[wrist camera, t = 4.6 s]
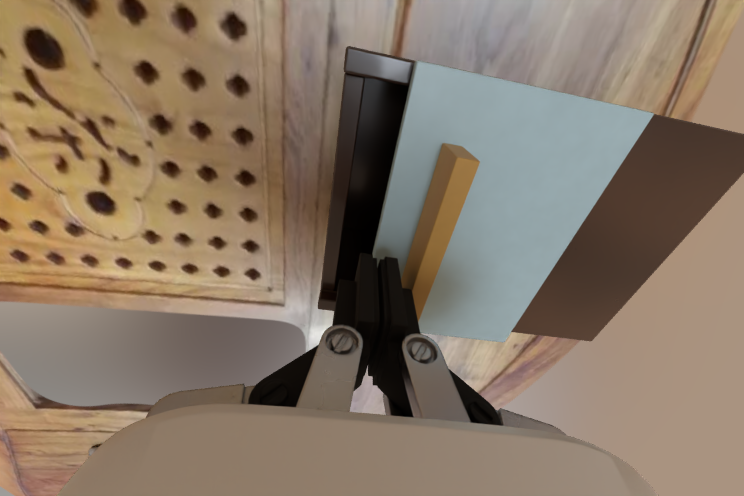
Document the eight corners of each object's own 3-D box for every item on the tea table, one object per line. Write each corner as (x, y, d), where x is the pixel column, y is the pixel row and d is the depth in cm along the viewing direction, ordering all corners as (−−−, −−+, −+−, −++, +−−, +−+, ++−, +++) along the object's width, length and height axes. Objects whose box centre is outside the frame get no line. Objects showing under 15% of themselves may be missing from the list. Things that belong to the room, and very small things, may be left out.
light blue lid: (414, 60, 10) (428, 59, 7) (641, 111, 11) (713, 122, 8) (357, 318, 16) (356, 357, 14) (500, 334, 17) (519, 373, 15)
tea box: (355, 54, 18) (346, 45, 10) (606, 109, 20) (774, 140, 12) (333, 228, 24) (317, 309, 16) (522, 257, 26) (591, 342, 18)
